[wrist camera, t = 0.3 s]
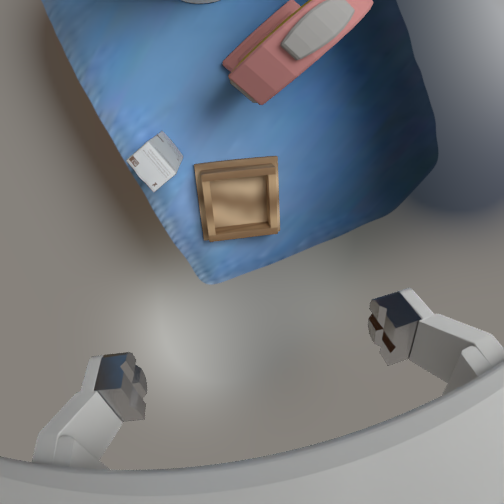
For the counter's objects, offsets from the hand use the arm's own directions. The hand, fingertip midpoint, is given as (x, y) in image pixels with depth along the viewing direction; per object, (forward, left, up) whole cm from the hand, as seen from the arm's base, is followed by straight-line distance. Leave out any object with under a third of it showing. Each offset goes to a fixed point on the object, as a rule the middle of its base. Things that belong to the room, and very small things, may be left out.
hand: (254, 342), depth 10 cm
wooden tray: (+11, +4, -46) cm, 47 cm away
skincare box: (+1, -8, -46) cm, 47 cm away
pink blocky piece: (-15, +12, -46) cm, 50 cm away
